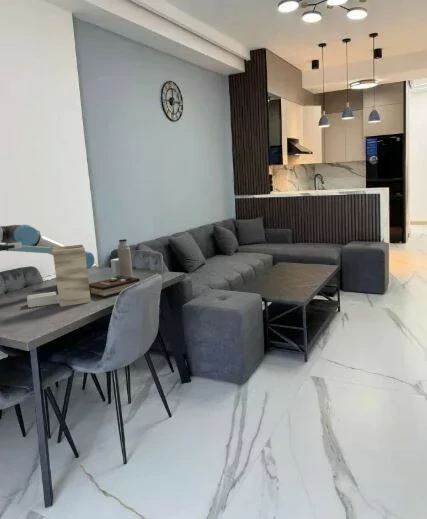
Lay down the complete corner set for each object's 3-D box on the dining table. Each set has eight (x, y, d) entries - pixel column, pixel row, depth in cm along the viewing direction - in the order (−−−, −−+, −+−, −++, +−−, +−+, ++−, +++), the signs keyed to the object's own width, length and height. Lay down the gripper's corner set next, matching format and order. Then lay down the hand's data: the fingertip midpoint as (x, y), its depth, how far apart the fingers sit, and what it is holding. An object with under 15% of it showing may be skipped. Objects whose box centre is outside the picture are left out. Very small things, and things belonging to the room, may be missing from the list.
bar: (2, 249, 233) (2, 244, 233) (50, 252, 243) (50, 247, 242) (1, 250, 231) (2, 244, 230) (50, 253, 240) (50, 247, 239)
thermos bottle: (124, 280, 290) (120, 238, 286) (135, 281, 288) (131, 238, 283) (118, 283, 283) (114, 240, 278) (129, 283, 280) (125, 240, 276)
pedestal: (59, 302, 244) (52, 247, 238) (89, 298, 249) (82, 244, 244) (60, 306, 234) (52, 249, 229) (90, 302, 240) (84, 245, 235)
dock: (28, 304, 244) (27, 295, 244) (57, 300, 250) (55, 291, 249) (28, 307, 237) (27, 298, 236) (57, 303, 242) (56, 294, 242)
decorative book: (82, 283, 256) (124, 273, 277) (83, 296, 257) (126, 285, 278) (100, 287, 243) (143, 276, 264) (101, 300, 244) (144, 288, 265)
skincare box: (122, 278, 298) (120, 257, 295) (128, 279, 294) (125, 257, 291) (112, 281, 292) (109, 259, 289) (117, 282, 288) (115, 260, 285)
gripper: (-25, 256, 235) (22, 250, 243) (-29, 260, 220) (22, 253, 228) (-27, 242, 234) (20, 236, 242) (-32, 245, 219) (19, 239, 227)
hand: (21, 245), depth 235 cm, fingers closed on bar, 3 cm apart
